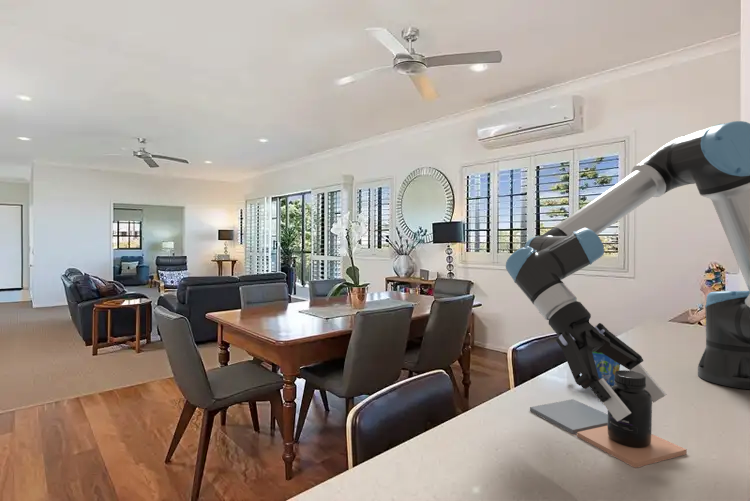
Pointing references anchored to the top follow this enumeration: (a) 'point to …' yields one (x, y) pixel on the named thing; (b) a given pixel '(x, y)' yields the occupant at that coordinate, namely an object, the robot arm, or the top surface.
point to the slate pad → (572, 415)
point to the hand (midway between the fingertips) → (643, 407)
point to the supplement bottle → (632, 411)
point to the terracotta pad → (631, 455)
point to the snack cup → (606, 367)
